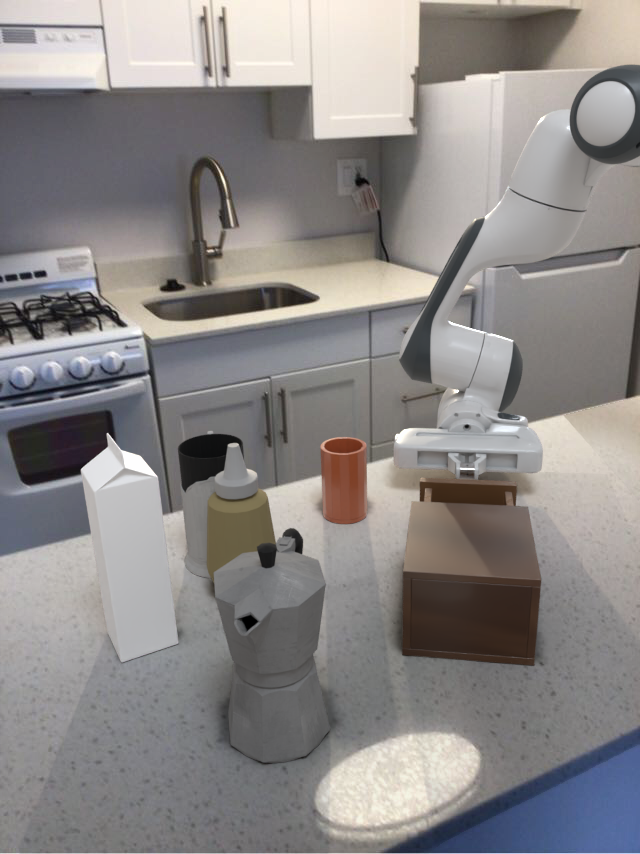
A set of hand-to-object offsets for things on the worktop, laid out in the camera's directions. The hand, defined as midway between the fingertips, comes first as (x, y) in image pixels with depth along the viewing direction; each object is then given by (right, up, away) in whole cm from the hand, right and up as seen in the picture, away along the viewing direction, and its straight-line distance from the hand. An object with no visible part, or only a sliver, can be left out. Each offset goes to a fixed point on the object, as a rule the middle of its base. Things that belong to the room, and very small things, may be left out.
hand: (467, 474), depth 99 cm
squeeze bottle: (-28, -13, -13) cm, 33 cm away
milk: (-38, -16, -20) cm, 46 cm away
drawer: (-2, -9, -9) cm, 13 cm away
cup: (-16, -5, +4) cm, 17 cm away
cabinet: (-4, -14, -19) cm, 24 cm away
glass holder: (-32, -9, -4) cm, 33 cm away
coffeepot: (-23, -20, -32) cm, 44 cm away
